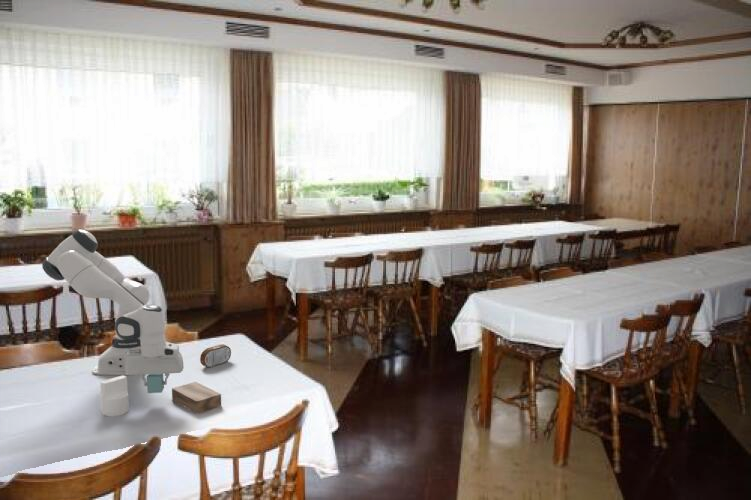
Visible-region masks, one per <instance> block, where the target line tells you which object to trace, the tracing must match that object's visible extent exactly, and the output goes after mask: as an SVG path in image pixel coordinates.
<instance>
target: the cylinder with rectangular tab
mask: <svg viewBox="0 0 751 500" xmlns="http://www.w3.org/2000/svg"><path fill="white" fill-rule="evenodd" d="M99 385H100V403H101V413H102V415H103V416H105V417H116V416H117V417H118V416H121V415H124V414H126V413H128V411H129V410H130V407H129V405H130V404H129V393H128V392H129V391H128V378H127V375H117V376H116V377H111V378H107V379H105V380H101V381H99Z"/></svg>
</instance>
